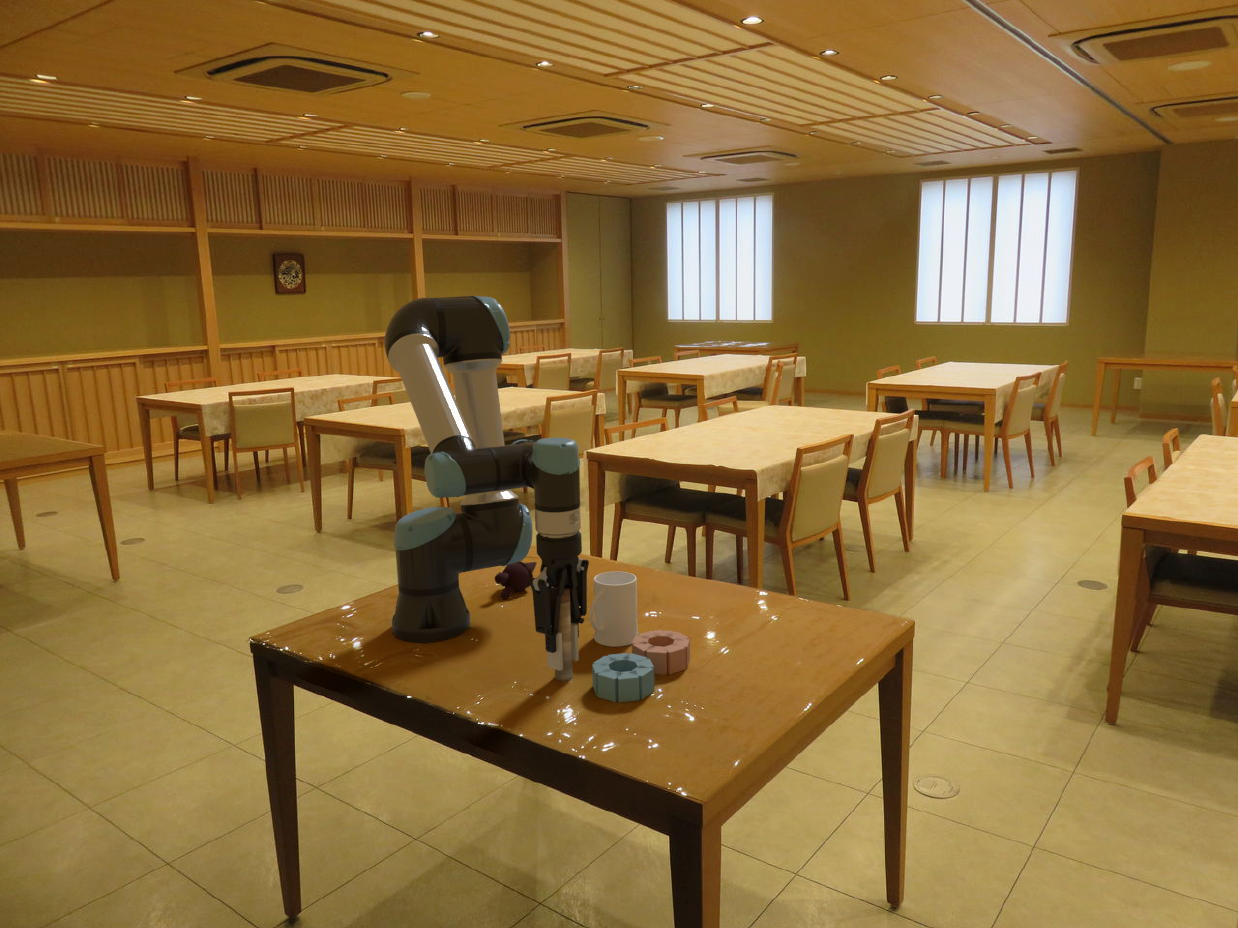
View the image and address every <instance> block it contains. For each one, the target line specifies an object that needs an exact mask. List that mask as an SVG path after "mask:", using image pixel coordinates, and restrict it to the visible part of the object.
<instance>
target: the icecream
mask: <svg viewBox="0 0 1238 928" xmlns="http://www.w3.org/2000/svg"><path fill="white" fill-rule="evenodd" d="M537 563H538V562H537V561H532V562H523V561H520V562H516V563H512V564H508V565H506V566H504V569H503V570H502V572H500V571H499V572H498V573H497V574H496V575H495V576H494V581H495V583H496V584H497V585H498V584H500V586H502V587H504V588H503V589H502V590H501V592H500V598H501V600H507V599H508V598H510V596H511V595H512V594H513V592H520V591H523V590H525V589H527V588H529V587H531V586H530V583H529V581H530V579H531V578H532V577H533V578H534V574H533V573H534V571H535V568H536V566H537Z"/></svg>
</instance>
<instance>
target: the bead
mask: <svg viewBox="0 0 1238 928" xmlns="http://www.w3.org/2000/svg"><path fill="white" fill-rule="evenodd" d="M591 667H592V668H591V669H592V670H591V672H592V689H593V690H594V693H595V697H596V696H597V697H598V699H599V698H600V699H603V700H606V701H610V702H613V703H617V702H618V703H627V702H635V701H637V702H638V701H640V699H641V700H643V699H645V698H646V697H648V696H649V695H650V694H652V693H653V692H655V674H654V666H653V664H652V662H651V661H650V659H647V657H644V656H640V655H636V654H632V652H630V653H628V652H622V653H616V654H613V653H611V654H607V655H603V656H601V658H599V659H597V660H596V661H594V662H592V664H591Z"/></svg>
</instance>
